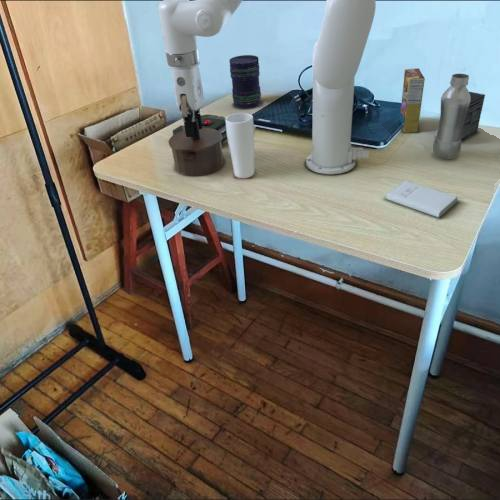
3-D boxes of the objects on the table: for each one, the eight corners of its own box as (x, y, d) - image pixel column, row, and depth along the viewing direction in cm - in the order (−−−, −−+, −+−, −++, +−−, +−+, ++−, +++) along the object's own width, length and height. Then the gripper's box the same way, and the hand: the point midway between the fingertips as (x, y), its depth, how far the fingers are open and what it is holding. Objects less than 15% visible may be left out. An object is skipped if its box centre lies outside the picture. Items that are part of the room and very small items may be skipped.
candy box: (398, 121, 137) (404, 68, 127) (413, 120, 136) (420, 67, 127) (402, 132, 130) (409, 78, 120) (417, 132, 129) (426, 77, 120)
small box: (456, 126, 130) (464, 89, 124) (478, 132, 126) (487, 94, 120) (434, 137, 126) (441, 99, 119) (456, 144, 121) (464, 105, 115)
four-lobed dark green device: (217, 151, 129) (215, 136, 126) (167, 142, 137) (164, 127, 134) (248, 127, 141) (247, 113, 138) (201, 120, 149) (199, 106, 146)
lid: (226, 131, 124) (223, 108, 120) (217, 153, 113) (214, 129, 109) (176, 132, 126) (172, 110, 122) (163, 154, 115) (158, 131, 111)
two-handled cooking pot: (227, 149, 130) (225, 125, 125) (217, 180, 115) (214, 155, 111) (183, 150, 131) (179, 127, 127) (167, 181, 117) (162, 156, 112)
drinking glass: (254, 181, 113) (250, 123, 104) (228, 180, 115) (221, 123, 106) (259, 168, 119) (255, 112, 110) (234, 167, 120) (228, 112, 111)
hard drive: (438, 218, 94) (385, 199, 102) (456, 202, 99) (404, 185, 106) (439, 212, 93) (386, 193, 101) (458, 196, 98) (405, 179, 105)
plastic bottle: (450, 164, 113) (466, 82, 101) (425, 156, 117) (439, 76, 105) (464, 155, 116) (482, 75, 104) (440, 148, 120) (454, 70, 108)
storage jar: (267, 104, 157) (264, 58, 148) (242, 111, 153) (238, 65, 144) (251, 97, 164) (248, 53, 155) (228, 103, 160) (223, 59, 151)
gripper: (191, 68, 100) (202, 146, 111) (205, 48, 113) (214, 120, 124) (158, 69, 101) (172, 146, 112) (175, 50, 114) (187, 120, 125)
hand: (194, 131), depth 118 cm, fingers open, 4 cm apart
